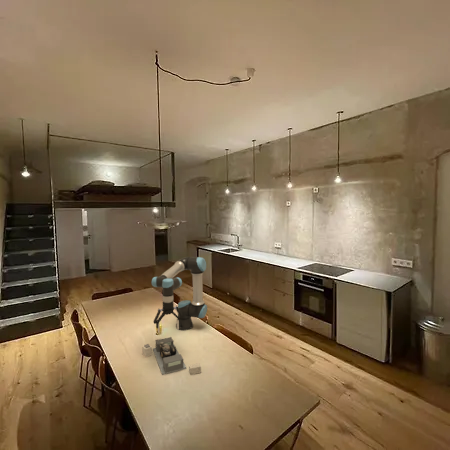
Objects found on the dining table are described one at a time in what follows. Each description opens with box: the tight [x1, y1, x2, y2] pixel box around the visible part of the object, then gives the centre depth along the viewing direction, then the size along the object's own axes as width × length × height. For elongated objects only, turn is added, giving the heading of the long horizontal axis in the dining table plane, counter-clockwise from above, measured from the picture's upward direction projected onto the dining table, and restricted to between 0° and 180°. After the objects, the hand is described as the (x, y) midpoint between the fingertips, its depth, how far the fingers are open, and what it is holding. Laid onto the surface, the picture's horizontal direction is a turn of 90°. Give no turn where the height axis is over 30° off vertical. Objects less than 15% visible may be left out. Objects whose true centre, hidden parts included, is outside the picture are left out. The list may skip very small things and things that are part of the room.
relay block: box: [141, 343, 153, 358], centre depth 193 cm, size 5×6×7 cm
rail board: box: [152, 336, 187, 376], centre depth 187 cm, size 16×34×7 cm, turn 25°
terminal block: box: [188, 363, 202, 376], centre depth 172 cm, size 7×4×4 cm, turn 110°
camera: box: [160, 342, 178, 358], centre depth 187 cm, size 16×10×10 cm, turn 30°
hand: (168, 330), depth 187 cm, fingers open, 13 cm apart
